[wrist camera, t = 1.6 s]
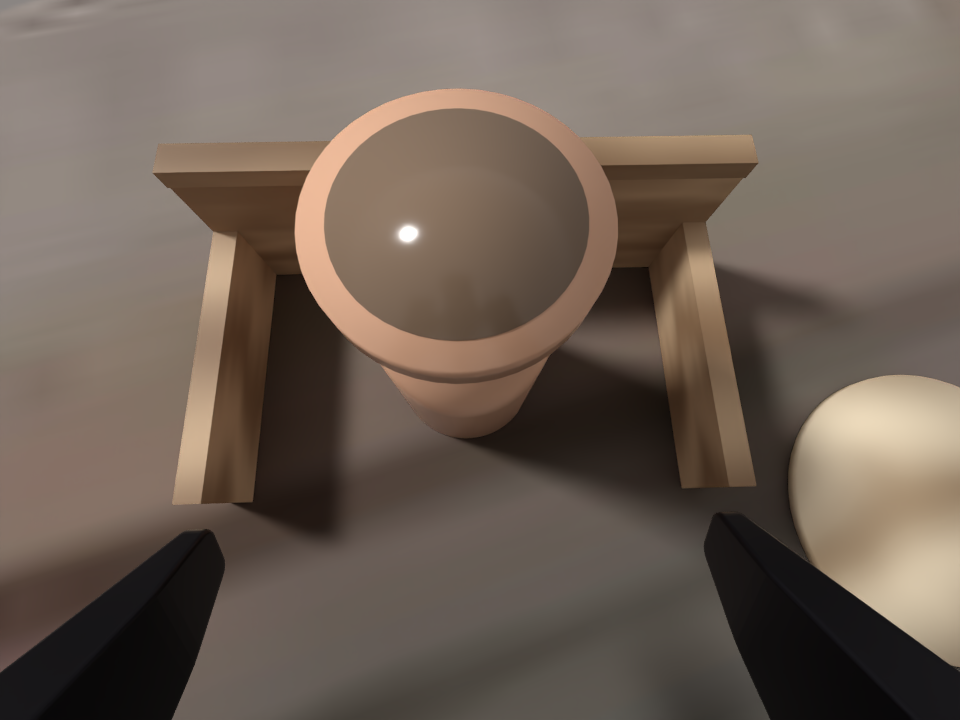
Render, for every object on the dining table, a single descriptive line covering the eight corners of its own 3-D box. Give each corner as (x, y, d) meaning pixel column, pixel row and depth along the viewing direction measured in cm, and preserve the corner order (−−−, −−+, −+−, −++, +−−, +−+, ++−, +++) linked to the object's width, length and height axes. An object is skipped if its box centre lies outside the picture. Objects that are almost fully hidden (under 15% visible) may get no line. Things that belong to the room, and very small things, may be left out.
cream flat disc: (1124, 562, 20) (1143, 564, 19) (924, 727, 18) (939, 734, 17) (923, 335, 23) (934, 331, 22) (733, 457, 21) (740, 456, 20)
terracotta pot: (561, 400, 22) (684, 270, 9) (438, 472, 21) (383, 436, 8) (491, 288, 23) (512, 46, 11) (373, 350, 22) (244, 161, 10)
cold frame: (703, 487, 21) (835, 483, 13) (229, 502, 20) (84, 507, 13) (664, 247, 24) (751, 134, 16) (258, 255, 23) (158, 143, 16)
